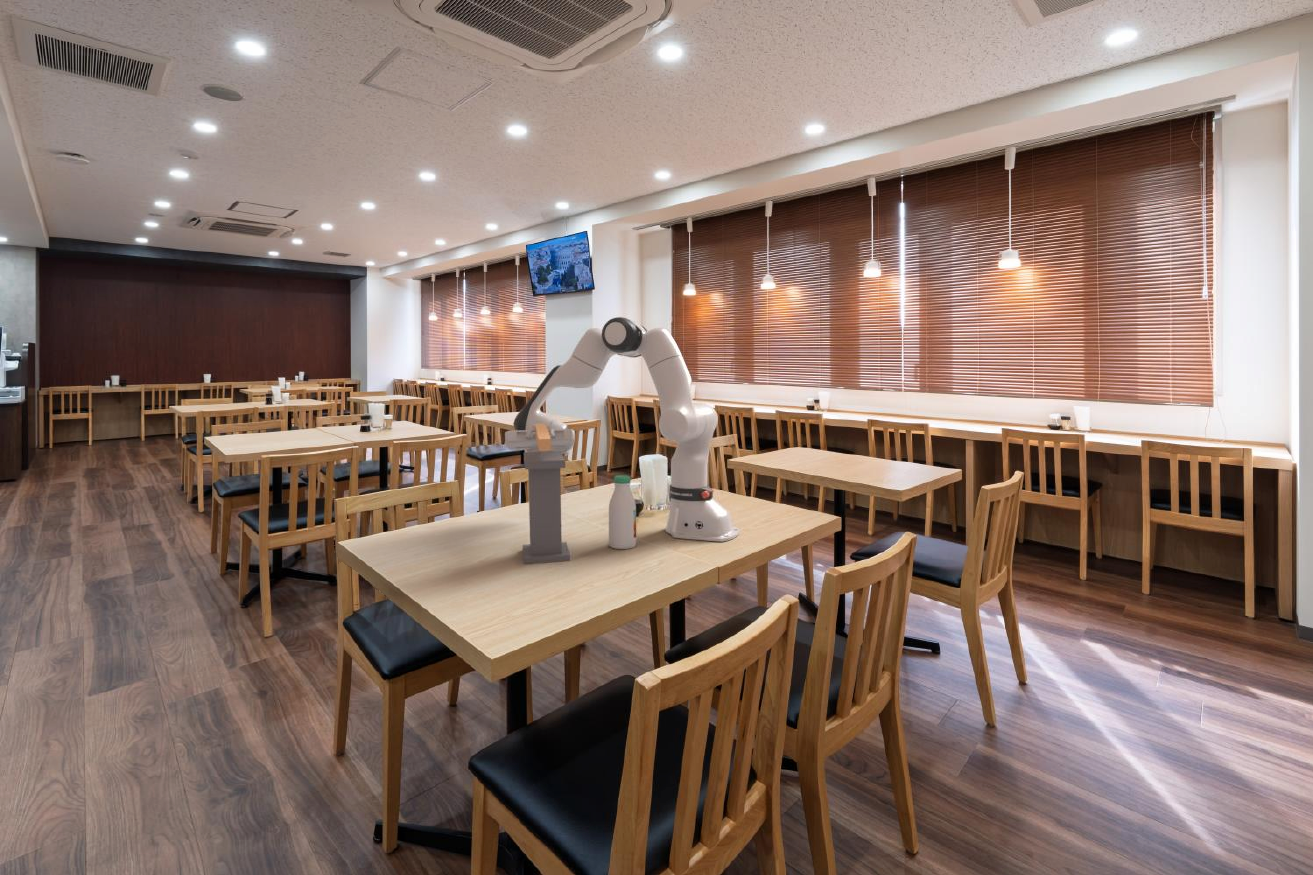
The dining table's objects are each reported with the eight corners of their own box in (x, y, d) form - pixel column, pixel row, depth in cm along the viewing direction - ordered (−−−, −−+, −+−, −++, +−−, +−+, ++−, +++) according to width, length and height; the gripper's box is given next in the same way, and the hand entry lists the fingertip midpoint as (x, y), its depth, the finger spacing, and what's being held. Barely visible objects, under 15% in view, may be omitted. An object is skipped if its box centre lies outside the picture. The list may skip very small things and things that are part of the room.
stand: (522, 547, 178) (520, 452, 175) (565, 545, 181) (564, 450, 177) (523, 566, 163) (520, 461, 159) (570, 562, 165) (569, 460, 162)
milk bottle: (630, 551, 175) (629, 479, 173) (604, 548, 178) (603, 477, 175) (640, 543, 183) (640, 474, 180) (615, 540, 185) (615, 472, 183)
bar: (535, 433, 185) (534, 423, 184) (545, 433, 185) (545, 423, 185) (539, 451, 160) (538, 439, 159) (551, 450, 161) (550, 438, 160)
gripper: (504, 438, 193) (503, 419, 181) (572, 436, 198) (575, 417, 185) (504, 457, 191) (503, 439, 178) (573, 455, 195) (576, 437, 183)
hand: (540, 428), depth 182 cm, fingers closed on bar, 3 cm apart
